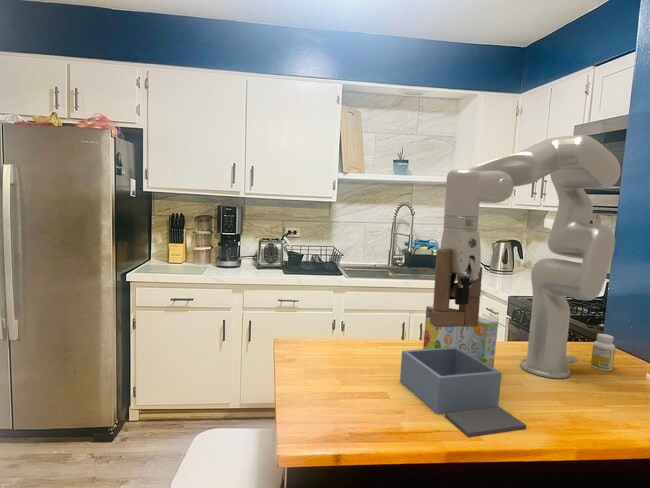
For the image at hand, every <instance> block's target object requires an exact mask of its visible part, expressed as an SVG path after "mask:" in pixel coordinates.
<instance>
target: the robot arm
mask: <svg viewBox="0 0 650 488" xmlns="http://www.w3.org/2000/svg"><path fill="white" fill-rule="evenodd" d="M621 171H622V170H621V165H620V162H619V160H618V159H617V157H616V156H615V155H614V154H613V153H612V152H611V151H610V150H609V149H607V147H605V146H604V145H603V144H601V143H600V142H599V141H598V140H596V139H595V138H593V137H591V136H590V135H586V134H574V135H567V136H557V137H551V138H547V139H545V140H542V141H540V142H537V143H535V144H533V145H531V146H529V147H527V148H525V149H523V150H520V151H518V152H516V153H512V154H507V155H504V156H502V157H499V158H495V159H493V160H489V161H486V162H483V163H479V164H477V165H474V166H471V167H470V168H468V169H467V168H466V169H453V170H450V171H449V172H448V173H447V175H446V183H445V185H446V186H445V199H444V200H445V202H444V213H443V214H444V215H443V217H444V218H443V228H442V229H443V231H442V235H441V241H440V247H439V249H448V250H451V251H452V263H451V284H450V289H451V288H452V287H453V286H454V285H455V284H456V283H457V282H458V287H456V294H455V297H452V296H450V300H453V301H454V303H455V305H457V306H459V305H465V304H468V299H469V288H470V287H471V284H472V283H473V282H474V281H475V280H477V279H478V278H479V276H478V274H479V272H480V267H481V257H482V255H481V251H482V249H481V238H480V237H481V236H480V232H479V231H478V230H479V229H478V227H479V226H478V224H479V212H480V203H483V204H498V203H502V202H505V201H506V200H508V199H509V198H510V197H511V196H512V194H513V193H514V187H520V186H526V185H531V184H533V183H535V182H537V181H540V180H541V179H542V178H544V177H547V176H549V175H550V179H551V182H552V185H553V187H554V189H555V191H556V194H557V198H558V206H557V211H556V214H555V218H554V220H553V224H552V226H551V230H550V232H549V236H548V240H547V246H548V247H547V248H548V250H549V251H551V253H553V254H555V255H558V256H563V257H570V258H576V259H582V262H579V261H578V262H577V261H572V260H566V259H560V258H552V257H551V258H550V257H549V258H548V257H547V258H541V259H540V260H537V262H535V263H534V264H533V266H532V269H531V271H530V272H531V274H530V279H531V287H532V289H531V290H532V300H531V302H532V304H531V313H530V323H529V324H530V325H529V334H528V335H529V336H528V344H527V351H526V353H527V355H526V358H525V357H524V358H522V359H520V364H519V365H520V367H521V368H522V369H523V370H524V371H526V372H529V373H530V374H534V375H536V376H538V377H539V376H540V377H545V378H551V379H566V378H569V377H570V375H571V370H570V368H569V367H568V365H570V364H576V363H578V358H577V356H576V355H575V356H574V355H571V356H570V355H569V356H568V355H566V354H567V345H568V344H567V343H568V338H569V337H568V336H569V327H570V318H571V307H570V306H569V305H570V304H569V302H568V300H567V298H566V297H568V298H572V299H576V300H581V301H592V300H595V299H596V298H597V297H599V295H600V293H601V292H602V289H603V287H604V286H605V285H604V284H605V283H606V282H605V281H606V278H607V275H608V272H609V268H610V265H611V262H612V258H613V255H614V253H615V247H616V246H615V245H616V238H615V237H616V236H615V234H614V231H613V230H612V229H611V228H610V227H608V226H606V225H603V224H599V223H591V219H592V215H593V210H594V205H593V203H592V200H591V198H590V196H588V194H587V192H586V191H585V189H607V188H611V187H612V186H614V185H615V184H617V182H618V181H619V179H620V177H621ZM463 276H466V278H465V279H464V280H463ZM456 280H457V282H456ZM450 300H449V301H450Z"/></svg>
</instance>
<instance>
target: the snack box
mask: <svg viewBox="0 0 650 488" xmlns="http://www.w3.org/2000/svg"><path fill="white" fill-rule="evenodd" d="M431 309H433V305H432V304H431V305H427V306H426V309H425V310H426V311H425V322H424V335H423V345H422V346H423V348H422V349H436V348H451V347H457V348H459V349H461V350H463V351H464V352H466V353H468V354H470V355H471V356H473V357H475V358H477V359H478V360H480V361H482V362H484V363H485V364H487V365H489V366H491V367H493V368H494V367H495V366H494V365H495V356H496V347H497V337H498V330H499V321H498V320H494V319H491V318H487V317H483V316H479V318H478V326H476V327H464V326H463V327H435V326H433V325H432V324H431V323H430V310H431ZM494 369H495V368H494Z"/></svg>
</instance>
